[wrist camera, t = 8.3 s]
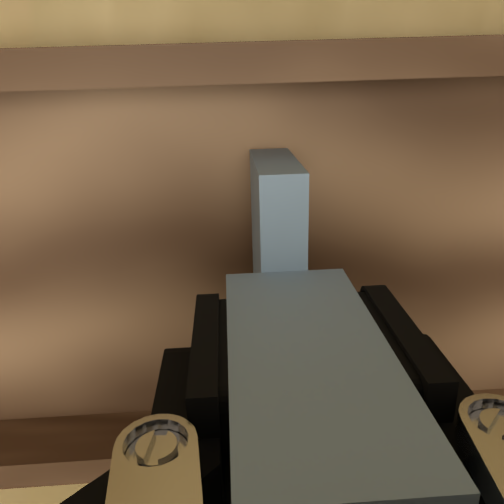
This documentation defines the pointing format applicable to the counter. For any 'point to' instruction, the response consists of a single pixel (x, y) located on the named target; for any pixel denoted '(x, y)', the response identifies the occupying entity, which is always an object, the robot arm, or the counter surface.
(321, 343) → the grey block with post
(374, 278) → the lane
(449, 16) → the counter surface
